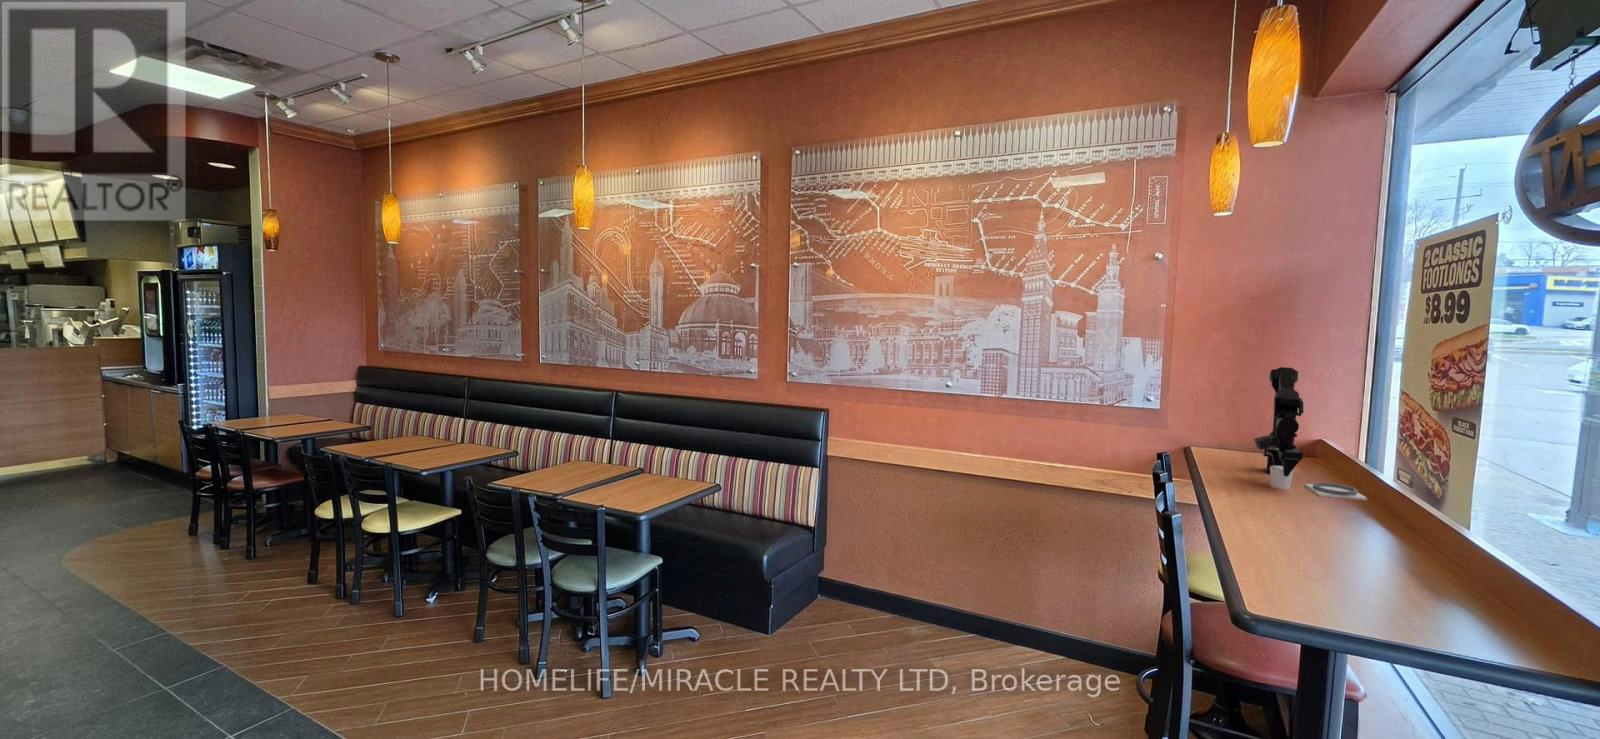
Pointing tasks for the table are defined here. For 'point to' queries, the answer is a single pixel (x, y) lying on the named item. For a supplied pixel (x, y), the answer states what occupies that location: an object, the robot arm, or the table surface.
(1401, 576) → the table surface
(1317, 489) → the coaster
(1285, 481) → the white cup
